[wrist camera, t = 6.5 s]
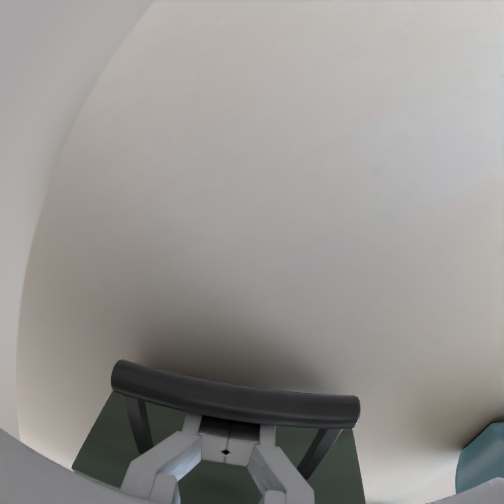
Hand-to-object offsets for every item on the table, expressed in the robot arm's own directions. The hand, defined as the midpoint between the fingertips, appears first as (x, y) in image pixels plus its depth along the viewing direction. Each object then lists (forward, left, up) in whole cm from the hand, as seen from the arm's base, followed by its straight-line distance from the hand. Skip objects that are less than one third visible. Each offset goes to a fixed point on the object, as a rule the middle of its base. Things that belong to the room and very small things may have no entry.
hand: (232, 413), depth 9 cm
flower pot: (+29, +11, -6) cm, 32 cm away
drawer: (+5, -5, -5) cm, 9 cm away
